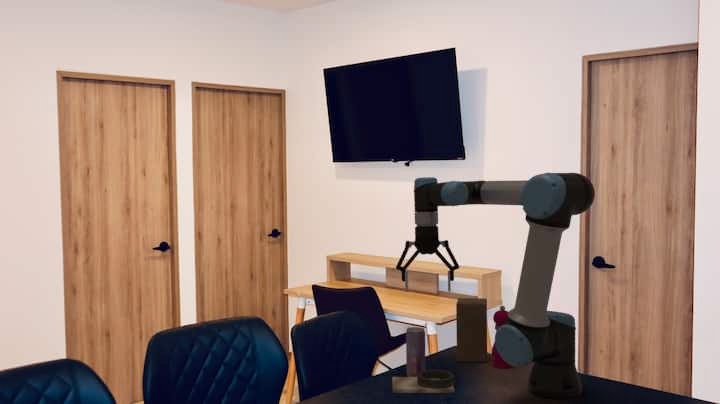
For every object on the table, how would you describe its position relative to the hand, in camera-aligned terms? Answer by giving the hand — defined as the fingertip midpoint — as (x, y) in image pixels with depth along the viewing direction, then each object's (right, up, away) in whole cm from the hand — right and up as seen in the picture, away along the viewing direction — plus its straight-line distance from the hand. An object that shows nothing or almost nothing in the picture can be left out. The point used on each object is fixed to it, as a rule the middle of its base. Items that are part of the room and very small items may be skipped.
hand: (428, 291), depth 217 cm
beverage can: (-4, -26, -3) cm, 27 cm away
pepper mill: (+25, -26, +6) cm, 37 cm away
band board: (-3, -27, -14) cm, 30 cm away
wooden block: (+17, -25, +16) cm, 34 cm away
